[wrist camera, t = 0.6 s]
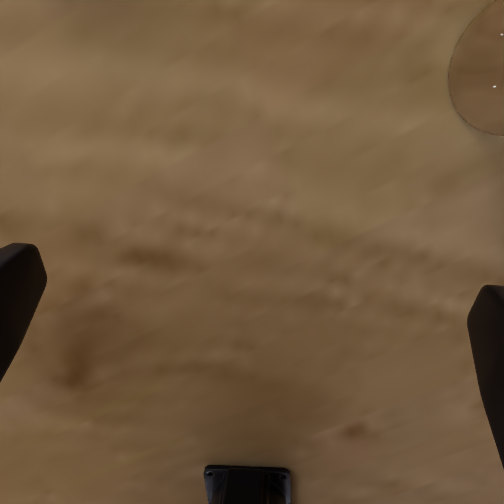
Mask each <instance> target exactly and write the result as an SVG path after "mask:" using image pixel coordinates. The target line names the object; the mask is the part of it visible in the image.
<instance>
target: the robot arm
mask: <svg viewBox="0 0 504 504" xmlns="http://www.w3.org/2000/svg"><path fill="white" fill-rule="evenodd" d="M46 283H47V274H46V271H45V268H44V265H43V262H42V259H41V256H40V253H39V250H38V248H37V247H36V246H35V245H33V244H26V243H12V244H10V245H7V246H5V247H3V248H1V249H0V382H1V380H2V378H3V376H4V375H5V373H6V371H7V369H8V368H9V366H10V364H11V362H12V360H13V359H14V357H15V355H16V353H17V351H18V349H19V347H20V345H21V343H22V341H23V339H24V336H25V334H26V332H27V329H28V327H29V325H30V322H31V320H32V318H33V315H34V313H35V311H36V308H37V306H38V303H39V301H40V299H41V296H42V294H43V292H44V289H45V287H46ZM467 326H468V332H469V337H470V343H471V348H472V353H473V358H474V364H475V369H476V374H477V379H478V385H479V389H480V393H481V397H482V401H483V404H484V408H485V411H486V414H487V417H488V421H489V424H490V427H491V430H492V433H493V436H494V440H495V443H496V446H497V449H498V452H499V455H500V459H501V462H502V465H503V468H504V286H497V285H485V286H483V287H482V288H481V290H480V292H479V294H478V296H477V298H476V300H475V302H474V304H473V306H472V308H471V310H470V312H469V315H468V319H467ZM204 478H205V485H206V491H207V497H208V503H209V504H291V483H290V471H289V470H288V469H286V468H274V467H249V466H223V465H208V466H206V467H205V470H204Z"/></svg>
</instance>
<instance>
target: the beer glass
mask: <svg viewBox="0 0 504 504" xmlns="http://www.w3.org/2000/svg"><path fill="white" fill-rule="evenodd" d="M448 84H449V92H450V96H451V99H452V102H453V104H454V106H455V108H456V110H457V111H458V113H459V114H460V116H461V117H462V118H463V119H464V120H465V121H466V122H467V123H468V124H469V125H471V126H472V127H474V128H475V129H477V130H479V131H482V132H484V133H488V134H491V135H496V136H504V0H494V1H493V2H491V3H490V4H489V5H487V6H486V7H485V8H484V9H483V10H481V11H480V12H479V13H478V14H477V15H476V16H475V17H474V19H473V20H472V21H471V22H470V23H469V24H468V26H467V27H466V29H465V30H464V31H463V33H462V35H461V36H460V38H459V40H458V42H457V44H456V46H455V49H454V51H453V54H452V57H451V61H450V66H449V74H448Z"/></svg>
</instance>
